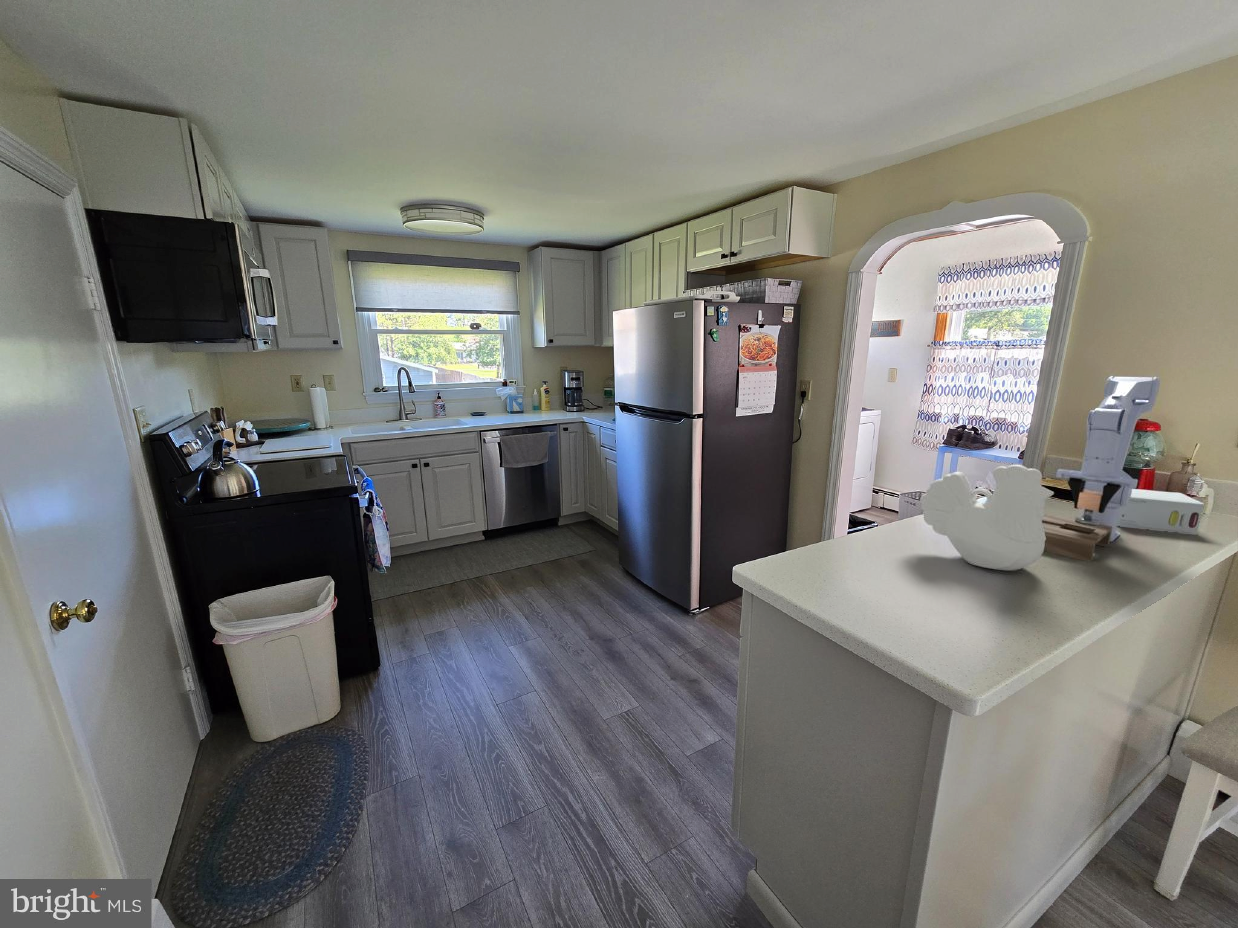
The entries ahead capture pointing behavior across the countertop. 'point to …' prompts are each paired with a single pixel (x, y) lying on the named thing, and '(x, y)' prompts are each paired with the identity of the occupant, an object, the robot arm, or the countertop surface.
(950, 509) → the decorative rooster
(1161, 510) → the supplement box
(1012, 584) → the countertop surface
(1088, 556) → the keyhole board
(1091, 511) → the brown piece
